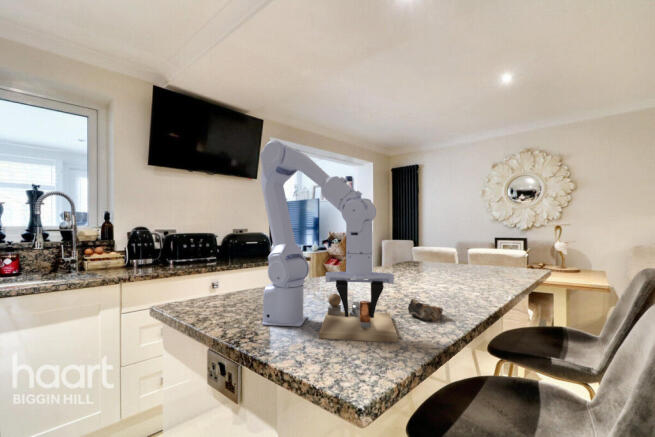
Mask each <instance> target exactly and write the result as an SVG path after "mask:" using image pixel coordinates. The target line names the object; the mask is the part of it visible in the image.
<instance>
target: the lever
mask: <svg viewBox="0 0 655 437" xmlns="http://www.w3.org/2000/svg"><path fill="white" fill-rule="evenodd" d="M351 311H352V312H353V313H355V315H356V317H357V319H358V322H359V324H360V326H361V328H371V318H370V311H371V301H370V300H361V301H352V304H351Z"/></svg>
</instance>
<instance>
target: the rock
mask: <svg viewBox="0 0 655 437" xmlns="http://www.w3.org/2000/svg"><path fill="white" fill-rule="evenodd" d="M407 312H408V314H409V315H411V316H414V317H415V318H418V319H420V320H423V321H429V322H435V321H437V320H438V319H440V317H441V316H443V312H444V309H443V308H442V307H440V306H435V305H430V304H428V303H423V302H420V301H419V300H417V299H416V298H415V299H413V298H411V299H410V303H409V304H408V307H407Z"/></svg>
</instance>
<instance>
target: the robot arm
mask: <svg viewBox="0 0 655 437" xmlns="http://www.w3.org/2000/svg"><path fill="white" fill-rule="evenodd" d="M259 158H260V163H261V176H260V184H261V190H262V195H263V200H264V205H265V211H266V216H267V221H268V224H269V230H270V236H271V240H272V245H273V249H272V250H271V252H270V253H269V255H268V256H267V260H268V266H267V267H268V269H267V277H268V279H269V280H270V282H271V284H267V285H266V286H265V288H264V291H263V299H262V306H263V307H262V322H261V324H262V325H263V326H280V327H284V326H285V327H302V326H303V324H304V322H305V321H306V319H307V317H308V315H307V314H304V289H305V288H304V286H305V279H306V278H307V277H308V276H309V273H310V264H309V262H308V260H307V259H306V258H305V254H304V252H303V250H302V248H301V247H299V245H298V244H297V243H296V238H295V234H294V231H293V230H294V229H293V224H292V220H291V216H290V211H289V205H288V201H287V197H286V193H285V188H284V186H285V184H286V183H287V181H288V180H290V179H291V178H292V177H293V176H294V175H295V174H296V173H297V172H301V173H302V174H303V175H305V176H306V177H307V178H309V179H310V180H311V181H312V182H314V184H316V185H318V187H320V191H321V192H320V193H321V197H323V198H324V199H325V200H327V201H328V202H329V204H331V205H332V206H333V207H334V208H335V209H337V210H338V211H339V212H340V213H341V217H342V219H343V220H344V221H345V223H346V226H345V227H346V232H345V233H346V234H345V235H346V236H345V242H346V244H345V245H346V246H345V271H326V273H325V283H331V282H333V283H335V288H336V291H337V293H338V295H339V296H340V298H341V303H342V306H343V310H344V311H343V312H345V317H348V312H349V300H348V298H349V297H348V296H349V293H348V292H349V283H365V284H367V283H370V302H371V311H370V318H374V313H376V306H377V305H378V301H379V299H380V296H381V294H382V293H383V290H384V287H385V286H384V284H389V285H391V284H392V285H394V282H395V280H394V276H395V275H394V273H391V272H389V273H388V272H376V271H375V272H374V271H373V250H374V249H373V241H374V240H373V234H374V233H373V221H374V219H375V218H376V215H377V209H376V206H375V204H374V202H372V200H371V199H369V198H365V197H364V198H362V195H363V193H362V192H361V191H359V190H355V189H353V188H352V186H350V185H349V184H348V179H346V178H345V177H343V176H341V177H339V176H335V175H334V176H330V175H328V173H326V171H324V170H323V168H322V167H320V166H319V165H318V164H317V163H316V162H314V160H313V159H311V158H310V157H309V156H308V155H307V154H305V153H303V152H301V150H299V149H298V148H295V147H291V146H289V145H286V144H284V143H282V142H281V141H279V140H277V139H272V140H269V141H268V142H267V143H265V145H264V147H263V149H262V151H260V154H259Z"/></svg>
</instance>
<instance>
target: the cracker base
mask: <svg viewBox="0 0 655 437" xmlns="http://www.w3.org/2000/svg"><path fill="white" fill-rule="evenodd" d="M327 300H328V303H329V305H328V307H327V312H326V314H325V317H324V319H323V322H322V325H321V328H320V329H319V334H318V336H319V337H318V339H330V340H345V341H346V340H347V341H367V342H383V343H384V342H385V343H386V342H387V343H399V342H398V338H399V336H398V334H397V331H396V328H395V325H394V322H393V320H392V316H391V313H390V312H389V313H387V312H374V318H371V328H361V326H360V324H359V322H358V319H357V317H356V315H355V313H353V312H352V310H351V311H348V317H345V312H344V311H342V310H341V309H342V305H341V303H342V300H341V297H340V295H339V293H338V294H337V293H331V294H330V295H329V297H328V299H327Z"/></svg>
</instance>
